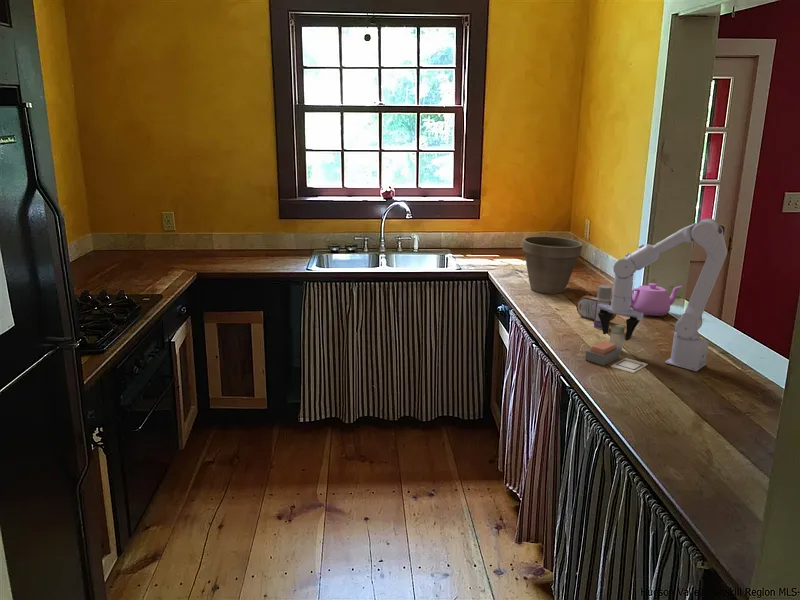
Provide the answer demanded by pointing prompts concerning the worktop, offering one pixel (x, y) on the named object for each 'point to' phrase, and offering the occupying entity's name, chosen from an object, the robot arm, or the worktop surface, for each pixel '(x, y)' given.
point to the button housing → (602, 356)
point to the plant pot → (550, 262)
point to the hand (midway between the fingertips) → (616, 336)
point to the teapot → (652, 300)
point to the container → (602, 302)
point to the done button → (603, 347)
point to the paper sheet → (629, 365)
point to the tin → (589, 307)
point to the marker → (617, 335)
